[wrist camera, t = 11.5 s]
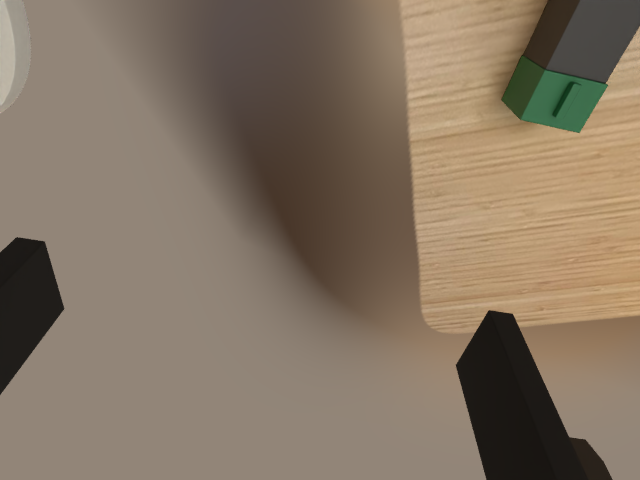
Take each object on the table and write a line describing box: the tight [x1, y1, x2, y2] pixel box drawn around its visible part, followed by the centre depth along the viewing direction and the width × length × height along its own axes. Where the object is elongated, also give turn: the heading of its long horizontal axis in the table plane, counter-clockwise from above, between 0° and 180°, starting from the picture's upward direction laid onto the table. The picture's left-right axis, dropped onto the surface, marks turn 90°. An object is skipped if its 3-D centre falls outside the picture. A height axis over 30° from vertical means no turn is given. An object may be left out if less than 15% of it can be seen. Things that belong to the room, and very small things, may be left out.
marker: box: [502, 0, 640, 133], centre depth 27 cm, size 15×5×5 cm, turn 169°
